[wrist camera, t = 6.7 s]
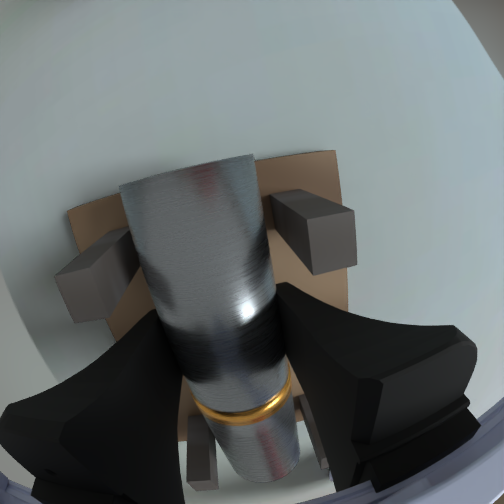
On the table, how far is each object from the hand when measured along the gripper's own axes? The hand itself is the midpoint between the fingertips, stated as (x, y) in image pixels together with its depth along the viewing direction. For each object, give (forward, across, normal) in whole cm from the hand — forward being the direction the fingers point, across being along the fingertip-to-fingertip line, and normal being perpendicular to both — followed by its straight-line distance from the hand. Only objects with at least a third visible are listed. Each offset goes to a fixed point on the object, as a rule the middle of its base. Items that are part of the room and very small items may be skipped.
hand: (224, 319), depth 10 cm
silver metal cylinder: (+1, 0, +2) cm, 2 cm away
